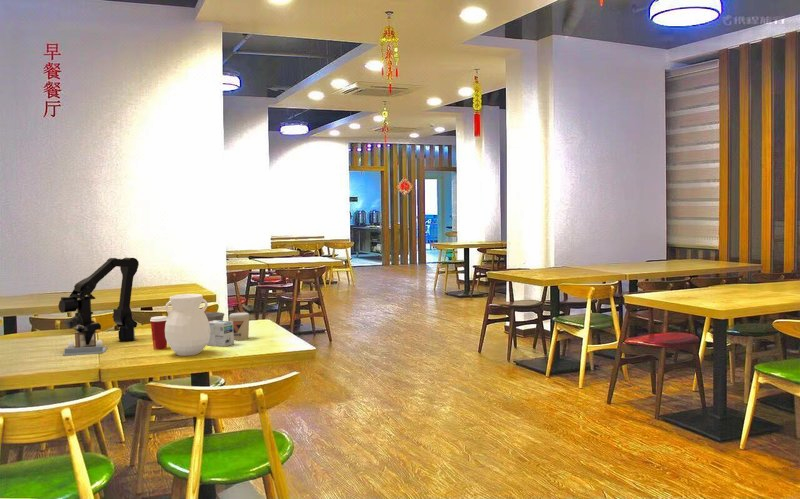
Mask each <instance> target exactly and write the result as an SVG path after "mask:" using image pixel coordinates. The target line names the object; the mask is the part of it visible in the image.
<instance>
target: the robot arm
mask: <svg viewBox="0 0 800 499" xmlns="http://www.w3.org/2000/svg"><path fill="white" fill-rule="evenodd" d="M139 265H140V263H139V261H138V259H137V258H135V257H123V258H117V257H109V258H108V259H106V261H105V262H104V263H103V264H102V265H101V266H99V267H98V268H97V269H96V270H95V271H94V272H92V273H91V275H89V276H88V277H86V278H84V279H82V280H79V281H78V282H77V283H75V285H74V286H73V290H72V292H71V293H70V295H69V296H66V297H65V296H62V297H60V300H59V302H58V309H59V312H60V313H61V314H63V313H64V314H65V313H71V312H75V313H74V316H71V317H70V318H68V319H66V320H64V321H63V323H64V325H65V328H66V329H73V330H74V331H76V333H80V332H83V333H84V336H85V342H86V345H89V343H90V341H91V339H92V336H93V334H94V332H95V331H98V330H101V329H102V325H101V324H100V323H99V322H95V321H94V320H92V315H94V312H93V311H92V300H96V297H95V296H94V295H93V294H92V293H93V291H94V290H95V289H96V288H97V284H98V283H100V281H102V280H103V279H104V278H105V277H106V276H107V275H108V274H110V272H112V270H114V269H115V268H116V267H117V268H118V267H119V268H120V273H121V275H122V278H121V286H120V295H119V302H118V306H117V308H114V309H113V312H112V313H113V314H112V318H113V319H112V320H113V322H114V323H115V324H116V326H117V328H119V330H118V334H117V335H118V340H119V342H133V341H135V340H136V334H135V331H136V330H135V328H137V326H138V322H137V321H136V320H135V319H133V312H132V309H131V300H132V293H133V292H132V289H133V281H134V276H135V275H136V274H137V272H138V269H139Z"/></svg>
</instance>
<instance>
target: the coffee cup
mask: <svg viewBox="0 0 800 499" xmlns="http://www.w3.org/2000/svg"><path fill="white" fill-rule="evenodd" d="M228 318H229V321H233V333H234V341H246V340H248V339H249V334H250V333H249V330H250V328H249V327H250V326H249V325H250V314H249V313H248V312H234V313H233V312H232V313H230V314H229V316H228ZM245 339H246V340H245Z"/></svg>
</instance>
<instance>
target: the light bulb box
mask: <svg viewBox="0 0 800 499" xmlns="http://www.w3.org/2000/svg"><path fill="white" fill-rule="evenodd" d="M209 325H210V339H209V342H208V344H207V345H206V346H209V347H210V346H214V347H223V348H224V347H228V346H232V345H234V344H235V340H234V333H233V321H230V320H223V321H217V320H214V321H209Z"/></svg>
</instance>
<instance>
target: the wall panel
mask: <svg viewBox="0 0 800 499" xmlns="http://www.w3.org/2000/svg"><path fill="white" fill-rule="evenodd" d="M103 345H104V344H103V340H102V339H98V340H97V339H96V347H82V348H75V341H68V342H67V348H64V350H63V351H64V352H63V353H62V356H63V357H65V356H66V357H69V356H81V355H83V356H84V355H98V354H99V355H100V354H104V353H105V352H106V351H107V349H108V346H103Z"/></svg>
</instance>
